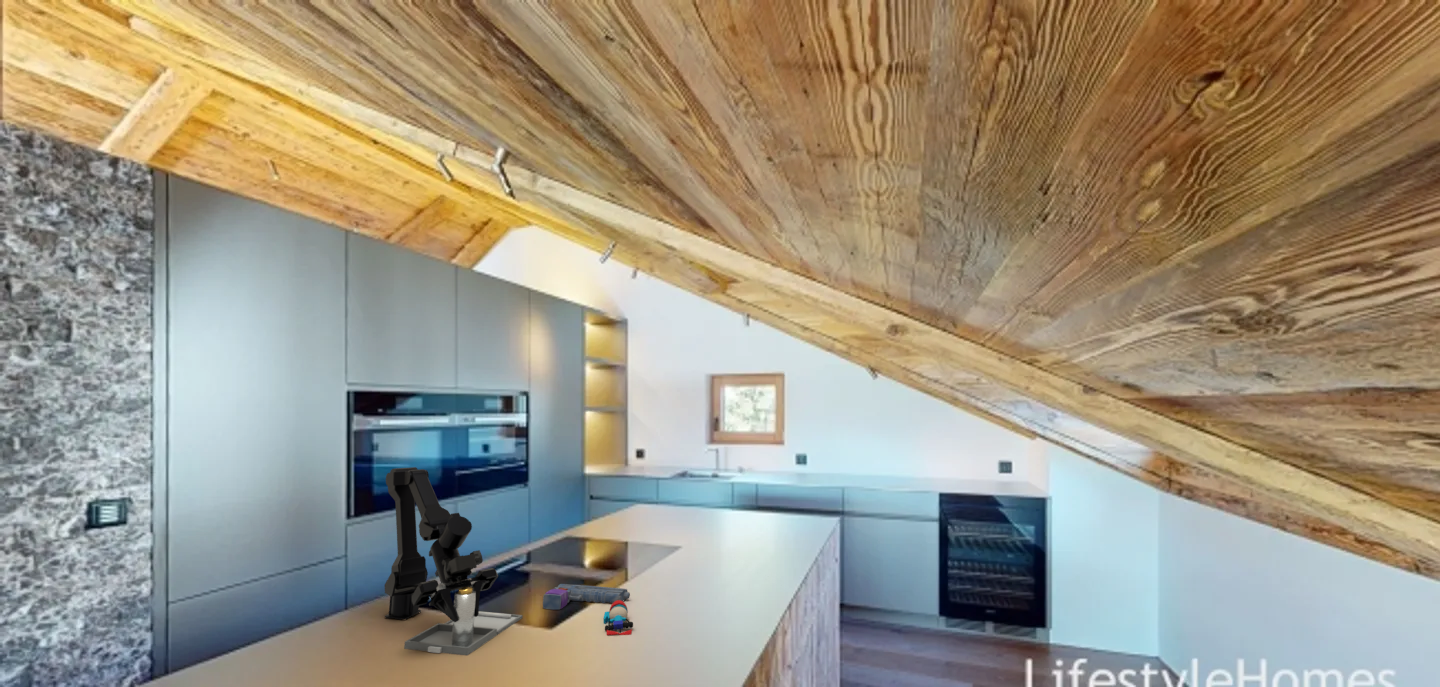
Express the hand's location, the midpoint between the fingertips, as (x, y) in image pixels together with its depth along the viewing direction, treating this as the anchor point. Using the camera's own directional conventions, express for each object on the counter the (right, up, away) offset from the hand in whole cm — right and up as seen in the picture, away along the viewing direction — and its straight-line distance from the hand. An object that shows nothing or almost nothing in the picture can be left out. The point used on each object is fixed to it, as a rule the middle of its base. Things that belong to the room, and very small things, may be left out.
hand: (466, 618), depth 138 cm
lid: (-3, -9, +15) cm, 18 cm away
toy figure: (+32, -11, +19) cm, 38 cm away
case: (-5, -8, +3) cm, 10 cm away
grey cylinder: (-1, -7, 0) cm, 7 cm away
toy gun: (+20, -12, +35) cm, 42 cm away
